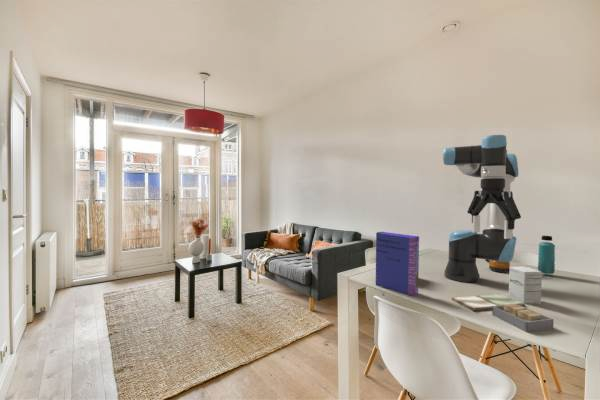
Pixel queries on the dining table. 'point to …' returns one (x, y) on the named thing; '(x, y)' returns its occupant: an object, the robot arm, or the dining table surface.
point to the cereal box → (397, 262)
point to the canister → (499, 266)
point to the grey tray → (524, 325)
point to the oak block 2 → (528, 315)
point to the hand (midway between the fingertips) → (491, 235)
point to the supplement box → (525, 284)
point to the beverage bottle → (546, 256)
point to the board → (484, 302)
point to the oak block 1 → (512, 309)
